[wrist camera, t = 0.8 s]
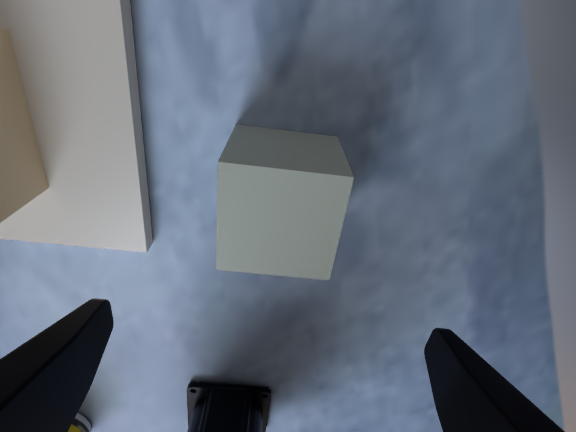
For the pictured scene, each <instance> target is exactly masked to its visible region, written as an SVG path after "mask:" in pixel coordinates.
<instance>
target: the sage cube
mask: <svg viewBox="0 0 576 432" xmlns="http://www.w3.org/2000/svg"><path fill="white" fill-rule="evenodd" d="M353 180H354V176H353V173H352V171H351V168H350V166H349V163H348V161H347V158H346V156H345V154H344V151H343V149H342V146H341V144H340V141H339V139H338V137H337V136H329V135H321V134H312V133H304V132H296V131H288V130H279V129H271V128H263V127H254V126H246V125H238V124H236V125H235V127H234V129H233V131H232V134H231V136H230V138H229V140H228V142H227V144H226V146H225V148H224V150H223V152H222V154H221V157H220V159H219V161H218V186H217V235H216V270H224V271H234V272H245V273H255V274H266V275H276V276H287V277H298V278H308V279H319V280H330V276H331V272H332V268H333V264H334V260H335V255H336V251H337V247H338V243H339V239H340V234H341V230H342V226H343V222H344V218H345V214H346V209H347V205H348V201H349V197H350V193H351V189H352V184H353Z"/></svg>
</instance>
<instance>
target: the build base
mask: <svg viewBox="0 0 576 432" xmlns="http://www.w3.org/2000/svg"><path fill="white" fill-rule="evenodd" d="M0 239H8V240H19V241H29V242H40V243H50V244H61V245H71V246H82V247H92V248H103V249H113V250H124V251H134V252H145V253H147V252H148V250H149V248H150V247H151V245H152V243H153V238H152V227H151V217H150V206H149V196H148V185H147V174H146V164H145V153H144V142H143V132H142V121H141V110H140V100H139V89H138V79H137V68H136V57H135V47H134V36H133V25H132V15H131V4H130V0H0Z"/></svg>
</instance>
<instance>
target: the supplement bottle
mask: <svg viewBox="0 0 576 432" xmlns="http://www.w3.org/2000/svg"><path fill="white" fill-rule="evenodd" d="M68 432H91V425H90V423H89V421H88V420H87V419H86V418H85V417H84V416H83V415H81V414H79V413H77V415H76V417H75V419H74V421H73V423H72V425H71V427H70V429H69V431H68Z"/></svg>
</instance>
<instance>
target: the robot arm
mask: <svg viewBox="0 0 576 432" xmlns="http://www.w3.org/2000/svg"><path fill="white" fill-rule="evenodd" d="M112 329H113V316H112V310H111V305H110V302H109V301H108V300H106V299H91V300H89V301H88V302H86V303H84V304H83V305H81V306H80V307H78V308H77V309H75V310H74V311H72V312H71V313H69V314H68V315H66V316H65V317H63V318H62V319H60V320H59V321H57V322H56V323H54V324H53V325H51V326H50V327H48V328H47V329H45V330H44V331H42V332H41V333H39V334H38V335H36V336H35V337H33V338H32V339H30V340H28V341H27V342H25V343H24V344H22V345H21V346H19V347H18V348H16V349H15V350H13V351H12V352H10V353H9V354H7V355H6V356H4V357H3V358H1V359H0V432H68V431H69V429H70V427H71V425H72V423H73V421H74V419H75V417H76V415H77V413H78V411H79V409H80V407H81V405H82V403H83V401H84V399H85V397H86V395H87V393H88V391H89V389H90V386H91V384H92V382H93V379H94V377H95V374H96V372H97V369H98V366H99V364H100V361H101V358H102V356H103V353H104V350H105V348H106V345H107V343H108V340H109V337H110V335H111V332H112ZM424 354H425V360H426V364H427V369H428V374H429V378H430V383H431V388H432V393H433V397H434V402H435V406H436V410H437V413H438V417H439V420H440V423H441V426H442V429H443V432H564V431H563V430H562V429H561V428H560V427H559V426H558V425H557V424H555V423H554V422H553V421H552V420H551V419H550V418H549V417H548V416H546V415H545V414H544V413H543V412H542V411H541V410H540V409H539V408H538V407H536V406H535V405H534V404H533V403H532V402H531V401H530V400H529V399H527V398H526V397H525V396H524V395H523V394H522V393H521V392H520V391H519V390H517V389H516V388H515V387H514V386H513V385H512V384H511V383H510V382H508V381H507V380H506V379H505V378H504V377H503V376H502V375H501V374H499V373H498V372H497V371H496V370H495V369H494V368H493V367H492V366H491V365H489V364H488V363H487V362H486V361H485V360H484V359H483V358H482V357H480V356H479V355H478V354H477V353H476V352H475V351H474V350H473V349H472V348H470V347H469V346H468V345H467V344H466V343H465V342H464V341H463V340H461V339H460V338H459V337H458V336H457V335H456V334H455V333H454V332H452V331H451V330H450V329H444V328H435V329H434V330H433V331H432V333H431V335H430V337H429V339H428V341H427V343H426V346H425V349H424ZM270 401H271V389H269V388H266V387H254V386H240V385H226V384H212V383H198V382H192V383H189V384H188V388H187V407H188V431H187V432H265V431H266V425H267V419H268V413H269V407H270Z"/></svg>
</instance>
